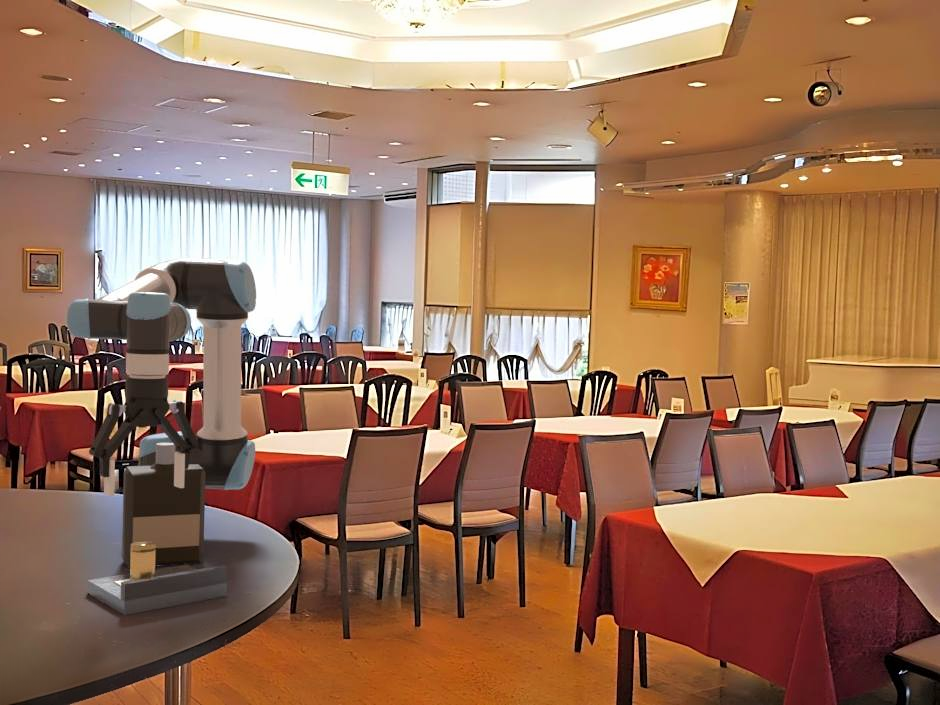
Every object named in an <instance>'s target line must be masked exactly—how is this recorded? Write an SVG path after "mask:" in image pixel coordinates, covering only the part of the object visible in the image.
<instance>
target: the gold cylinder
mask: <svg viewBox="0 0 940 705" xmlns="http://www.w3.org/2000/svg"><path fill="white" fill-rule="evenodd" d="M155 551H156V543H154V542H147V541H144V542H135V543H132V544H131V557H130V568H129V571H130V572H129V574H130V581H132V580H138V579H144V578H150V577H155V569H156V566H155Z"/></svg>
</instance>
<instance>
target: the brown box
mask: <svg viewBox="0 0 940 705" xmlns="http://www.w3.org/2000/svg"><path fill="white" fill-rule="evenodd" d="M174 458H175V445H174V443H157V444H156V463H154V464H153V465H152V466H139V465H134V466H133V465H132V466H129V465H128V466H125V469H124V472H123V488H122V489H123V493H122V495H123V496H122V497H123V499H122V500H123V501H122V537H121V540H122V543H121V546H122V547H121V558H122V561H123V563H124V564H125V566H126V567H127V568H128V567H129V568H128V569H130V557H131V544H132V543H135V542H144V541H147V542H154V543H156V551H155V567H158V566H157V565H165V566H172V565H171V564H179V565H185V564H184V563H192V564H201V563H202V561H203V559H204V546H205V544H204V543H205V541H204V540H205V510H206V508H205V507H206V504H205V503H206V488H205V476H206V473H205V471H204V469H203V468H202V467H201V466H200V465H199V464H189V467H188V469H185V476H184V488H178V487H176V486H174ZM200 562H201V563H200Z"/></svg>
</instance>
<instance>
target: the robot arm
mask: <svg viewBox="0 0 940 705" xmlns="http://www.w3.org/2000/svg"><path fill="white" fill-rule="evenodd" d="M255 281H256V280H255V277H254V273H253V272H252V268H251V267H250V266H249V265H248V263H247V262H245V261H241V260H234V259H233V260H232V259H229V258H227V259H218V258H217V259H214V258H213V259H212V258H211V259H209V258H207V259H205V258H203V259H202V258H188V257H187V258H184V257H183V258H176V259H170V260H167V261H164V262H160V263H157V264H154V265H151V266H150V267H147V268H145V269H143V270H142V271H140V272H139V273H138V274H137V275H136V277H135V278H134V280H132V281H130V282H128V283H125V285H123V286H122V285H121V286H120V287H119V288H117V289H115V290H112V291H111V292H109V293H107V294H104V295H103V296H101V297H98V298H97V299H91V298H90V299H89V298H85V299H81V298H80V299H74V300H73V301H72V302H70V303H69V306H68V309H67V311H66V313H67V314H66V324H67V329H68V332H69V333H70V335H71V336H73V337H75V338H81V339H88V340H91V339H96V340H97V339H98V340H122V341H123V340H124V341H126V349H125V373H126V375H128V377H126V379H125V391H124V392H125V393H124V396H125V402H124V404H116V403H113V402H111V403H108V404H107V411H106V416H105V417H104V420H103V421H102V424H101V426H100V428H99V430H98V432H97V434H96V436H95V437H94V440H93V441H92V442H93V443H92V444H91V446H90V449H89V450H88V454H89V455H90V456H92V457H93V456H94V457H96V458H97V459H99V476H100V477H102V478H103V494H104V495H107V496H109V497H113V496H115V472H116V471H115V470H116V468H115V466H116V465H115V464H116V460H115V459H114V458H112V457H113V456H114V454H115V453H116V451H117V450H118V449H119V448H120V447H121V445H123V443H124V442H125V440H126V439H127V438H128V436H129V435H130V434H131V433H132V431H134V430H136V428H137V427H138V428H147V427H150V428H151V427H152V428H156V427H157V426H158V427H159V428H160V430H162V431H163V432H162V433H155V434H151V435H147V436H145V437H143V438H142V439H141V440H140V442H139V450H138V456H137V459H138V466H152V465H153V464H154V463H156V444H157V443H174V445H175V458H174V486H176V487H178V488H184V476H185V469H188V467H189V464H199V465H200V466H201V467H202V468H203V469H204V471H205V473H206V476H205V489H209V490H210V489H211V490H224V491H228V490H241V489H243V488H245V487H247V486H246V485H248V482H249V480H250V478H251V476H252V472H253V469H254V464H255V459H256V444H255V441H252V440H250V439H248V431H247V430H246V429H245V428H244V427H243V425H242V325H243V324H244V323H245V322H246V321H247V320H248V319H249V313H251V312H253V311H254V310H255V309H256V306H257V302H256V300H257V288H256V282H255ZM187 309H188V310H196V319H197V321H199V322H200V324H202V327H203V333H202V334H203V342H202V343H203V345H202V347H203V348H202V350H203V359H202V361H203V366H202V367H203V374H202V376H203V377H202V378H203V381H202V382H203V385H202V386H203V388H202V389H203V426H202V427H201V428H200V429H199V430H198V431H197V432H196V435H195V433H194V431H193V428H192V426H191V424H190V422H189V419H188V417H187V416H186V412H185V411H186V410H185V402H183V401H180V400H178V399H177V400H176V399H175V400H173V401H171V402H169V401H168V398H169V379H168V377H166V376H167V375H169V373H170V372H169V371H170V368H169V367H170V362H169V361H170V342H172V343H173V342H175V341H178V340H180V339H182V338H183V337H185V336H186V335H187V334H188V332H189V331H190V330H191V329H190V328H191V324H192V319H191V314H190V313H189V311H188V310H187ZM169 411H170V412H171V413H172V414H173V417H174V419H175V421H176V423H177V425H178V428H179V430H180V431H177V430H176V429H175V428H174V426H173V425H172V423H171V421H169V419H168V418H167V417H166V416H167V414H168V412H169ZM123 413H124V414H125V416H126V417H125V418H124V420H123V421H122V422H121V424H120V426H119V427H118V429H117V430H116V431H115V432H114V429H115V427H116V426H117V423H118V420H119V417H121V416H122V414H123ZM113 432H114V434H113V435H112V433H113ZM110 436H111V438H110Z"/></svg>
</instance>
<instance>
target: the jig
mask: <svg viewBox="0 0 940 705" xmlns="http://www.w3.org/2000/svg"><path fill="white" fill-rule="evenodd" d="M227 589H228V567H227V566H226V565H223V564H222V565H216V566H211V567H206V568H199V569H197V568H196V567H193V566H190V564H179V565H173V566H168V567H162V568H157V569H156V568H155V577H150V578H144V579H138V580H132V581H130V573H124V574H118V575H113V576H112V575H111V576H107V577H106V576H105V577H101V578H100V577H99V578H95V579H88V580H87V592H88V593H90V594H91V595H93V596H95V597H96V598H98V599H99V600H101V601H103V602H104V603H106V604H107V605H106V604H105V605H106V606H108V605H109V606H110V608H111V607H112V608H111V609H113V610H115V611H116V610H117V611H116V612H118V611H119V612H118V613H120V614H121V613H122V614H121V615H123V616H128V615H133V614H139V613H143V612H149V611H154V610H159V609H164V608H169V607H175V606H181V605H186V604H191V603H196V602H201V601H206V600H213V599H219V598H222V597H223V598H224V597H227V593H228V592H227V591H228V590H227ZM88 593H87V594H88ZM91 595H90V596H91ZM93 596H92V597H93ZM96 598H95V599H96ZM98 599H97V600H98ZM99 600H98V601H99ZM101 601H100V602H101ZM103 602H102V603H103ZM104 603H103V604H104ZM109 606H108V607H109ZM138 612H139V613H138ZM127 614H128V615H127Z"/></svg>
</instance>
